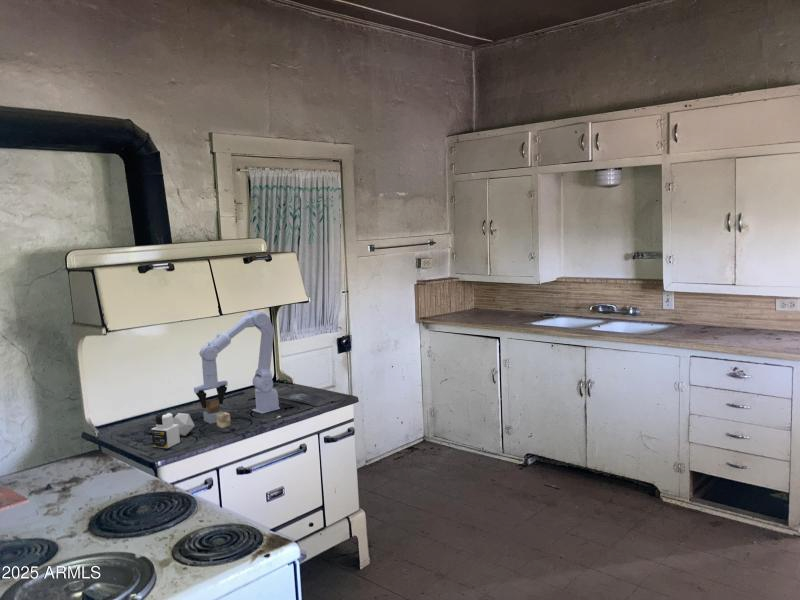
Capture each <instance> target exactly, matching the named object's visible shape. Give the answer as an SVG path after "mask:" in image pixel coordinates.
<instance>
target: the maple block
mask: <svg viewBox="0 0 800 600" xmlns="http://www.w3.org/2000/svg"><path fill="white" fill-rule="evenodd" d="M222 412H223V413H220V414H216V420H217V422H216V427H218V428H221V429H223V428H227V427H231V426H232V425H231V424H232V423H231V414H230V413H229V412H225V411H222Z"/></svg>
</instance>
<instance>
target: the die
mask: <svg viewBox="0 0 800 600" xmlns="http://www.w3.org/2000/svg"><path fill="white" fill-rule="evenodd" d="M173 424H178V425H179V436H182V437H183V436H184V437H185V436H187V435H188V434H189V433H190V432H191V430H192V429H193V428H194V427H195V423H194V422H193V419H192V418H191V415H190V413H182V412H178V413H177V414H176V415H175V416H174V417H173Z"/></svg>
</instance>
